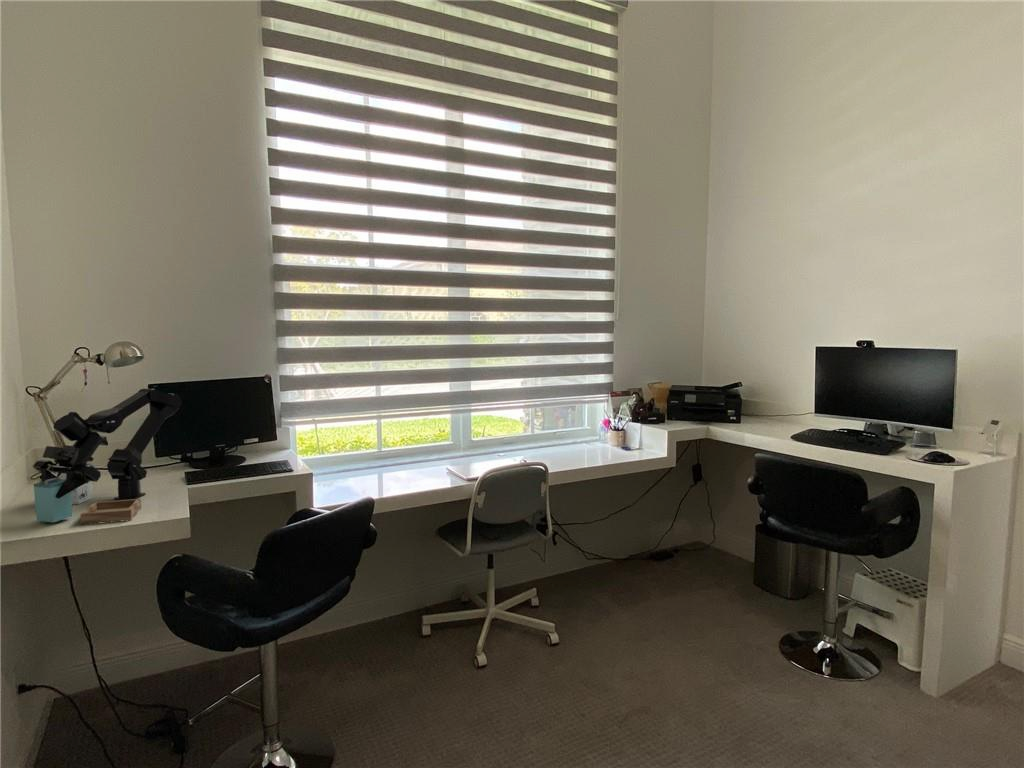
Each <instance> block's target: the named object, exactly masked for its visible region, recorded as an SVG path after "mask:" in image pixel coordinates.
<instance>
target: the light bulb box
mask: <svg viewBox="0 0 1024 768" xmlns="http://www.w3.org/2000/svg"><path fill="white" fill-rule="evenodd" d="M58 478H60V479H61V480H66V473H61V475H60V476H59V477H58ZM87 481H89V480H87ZM92 485H93V484H92V481H89V482H88V483H86V484H84V485H82V486H80V487H78V488H76V489H74V490H73V491H71V503H72V505H80V504H82V503H85V502H86V501H90V500H91V499H93V486H92Z"/></svg>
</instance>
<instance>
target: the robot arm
mask: <svg viewBox="0 0 1024 768" xmlns="http://www.w3.org/2000/svg"><path fill="white" fill-rule="evenodd" d="M147 404H149V413H148V415H147V416H146V417H145V420H143V422H142V424H141V425H140V426H139V428H137V431H136V432H135V433H134V435H133V437H132V438H131V439H130V441H129V442H128V444H127V445H126V446H125V448H122V449H121V448H116V449H115V450H114V451H113V453H112V454H111V456H110V457H109V458H107V460H108V462H107V464H106V467H107V471H108V473H109V475H110V477H111V479H112V480H117V496H116V497H114V498H113V500H114V501H117V500H130V499H140V497H143V496H145V495H146V492H142V489H141V481H142V480H143V479H146V478H147V473H148V472H147V470H146V469H145V468H143V467H142V466H141V465H142V463H143V457H142V456H143V453H144V451H145V450H146V448H148V445H149V443H151V441H152V439H153V438H154V436H155V435H156V434H157V432H158V430H159V429H160V428H161V426H162V424H163V423H164V421H165V420H166V419H167V418H169V417H171V416H173V415H174V414H175V413H176V412H177V411H178V410H179V409H180V408H181V406H182V399H181V396H180V395H179V394H178V393H172V392H170V393H169V392H168V393H167V392H163V391H161V390H157V389H155V388H141V389H139V390H138V391H137V392H136V393H134V394H132V395H131V396H129V397H128V398H126V399H124V400H123V401H121V402H118V404H116V405H114V406H113V407H110V408H108V409H104V410H101V411H98V412H95V413H93V414H91V415H89V416H88V417H87V418H85V419H84V418H83V417H82V416H80V414H79V413H77V412H76V411H69V412H68V414H65V415H63V416H61V417H60V418H59V419H57V420H55V422H54V423H53V429H54V430H55V432H57V433H59V434H60V435H62V437H64V438H65V439H66V440H68V441H70V442H73V444H72V445H69V444H68V445H67V444H65V445H63V447H61V446H60V447H58V446H52V445H51V446H49V445H47V446H45V449H44V451H43V454H42V458H45V459H46V458H48V459H51V460H52V459H53V461H51V460H44V459H40V460H36V461H35V463H34V464H33V465H32V468H33V469H35V470H36V471H38V473H40V474H41V481H40V482H43V481H45V480H48V479H52V478H56V477H59V476H60V475H61V473H66V480H65V481H64V483H63V484H62V486H61V488H60V489H59V491H58V492H57V494H56V496H55V497H56V498H61V497H62V496H64V495H66V494H67V493H69V492H71V491H73V490H74V489H76V488H78V487H80V486H82V485H84V484H86V483H88V482H89V481H91V482H94V483H95V482H98V481H99V479H100V478H101V471H100V470H99V469H98V468H96V467H95V466H93V465H92V464H91V463H88V462H93V460H94V459H95V458H94V457H93V455H94V454H95V453H96V451H97V449H98V448H99V446H106V447H107V446H108V445H109V441H108V439H107V436H102V435H101V434H112V433H115V432H116V430H118V429H119V428H120V427H121V426H122V425H123V421H124V420H125V419H126V418H128V417H130V416H131V415H132V414H134V413H135V412H137V411H138V410H140V409H141V408H143V407H145V406H146V405H147ZM99 433H101V434H99ZM55 463H56V464H55ZM59 479H60V478H59ZM60 480H61V479H60ZM87 480H89V481H87Z"/></svg>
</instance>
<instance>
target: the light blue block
mask: <svg viewBox="0 0 1024 768" xmlns="http://www.w3.org/2000/svg"><path fill="white" fill-rule="evenodd" d="M64 481H65V480H60V479H59V478H58V477H56V478H52V479H48V480H45V481H43V482H41V481H40V482H36V483H33V491H34V494H33V495H34V507H35V519H36V521H38V522H46V523H56V522H60V521H61V520H66V519H68V518H71V517H73V506H72V505H73V504H72V503H71V492H69V493H67V494H66V495H64V496H62V497H61V498H56V497H55V496H56V494H57V492H58V491H59V489H60V488H61V486H62V484H63V483H64Z"/></svg>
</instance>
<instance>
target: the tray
mask: <svg viewBox="0 0 1024 768" xmlns="http://www.w3.org/2000/svg"><path fill="white" fill-rule="evenodd" d="M141 509H142V499H141V498H136V499H130V500H105V501H95V502H94V501H93V503H92V504H90V505H89V506H88V507H87V508H86V509H85V510H84V511H83V512H81V513H80V514H79V515H80V525H81V524H86V525H91V524H90V523H97V524H100V523H99V522H109V523H112V522H111V521H120V522H122V521H121V520H131V521H132V520H133V519H134V518H135V516H136V515H137V514H138V513H139V512H138V511H141ZM137 512H138V513H137ZM133 517H134V518H133ZM132 518H133V519H132Z"/></svg>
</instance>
